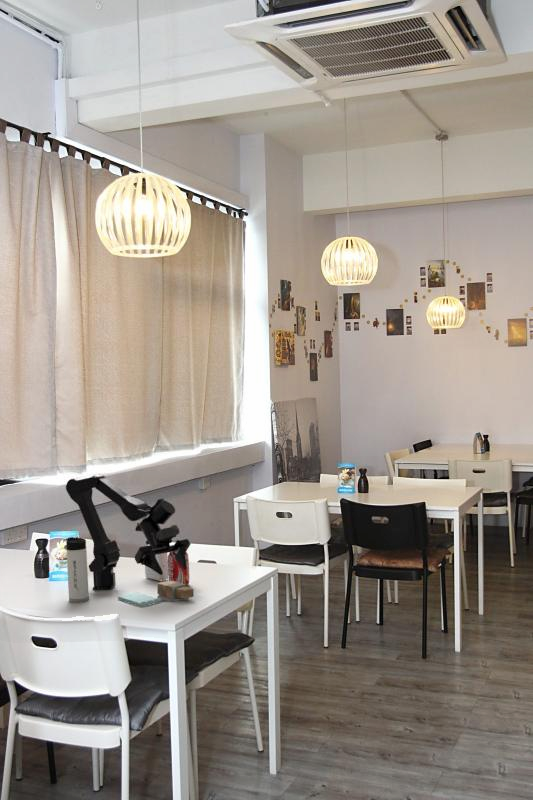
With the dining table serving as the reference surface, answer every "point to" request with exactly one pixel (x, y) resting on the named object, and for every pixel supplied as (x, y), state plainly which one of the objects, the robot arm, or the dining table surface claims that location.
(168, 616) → the dining table surface
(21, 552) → the dining table surface
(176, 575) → the soda can
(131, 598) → the board
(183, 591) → the stub
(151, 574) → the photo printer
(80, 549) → the travel mug
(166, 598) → the coaster
